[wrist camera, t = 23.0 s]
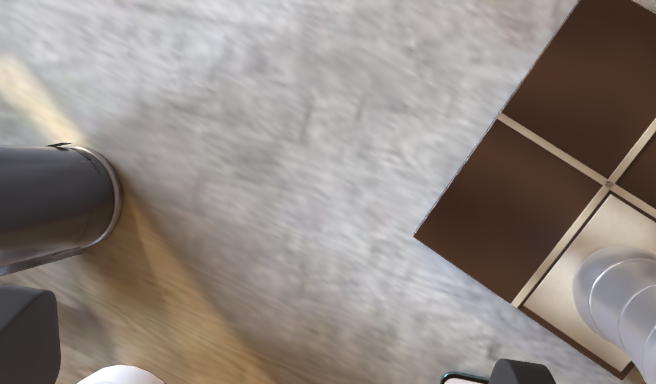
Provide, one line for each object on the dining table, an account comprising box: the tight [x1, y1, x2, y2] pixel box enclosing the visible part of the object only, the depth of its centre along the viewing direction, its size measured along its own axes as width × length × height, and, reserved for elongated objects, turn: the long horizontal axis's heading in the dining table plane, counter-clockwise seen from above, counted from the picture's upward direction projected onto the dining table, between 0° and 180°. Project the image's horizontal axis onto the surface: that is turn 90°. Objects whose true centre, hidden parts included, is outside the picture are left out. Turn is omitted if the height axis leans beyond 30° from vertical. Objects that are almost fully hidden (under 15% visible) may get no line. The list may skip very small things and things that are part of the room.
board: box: [413, 0, 656, 380], centre depth 35 cm, size 22×18×1 cm
